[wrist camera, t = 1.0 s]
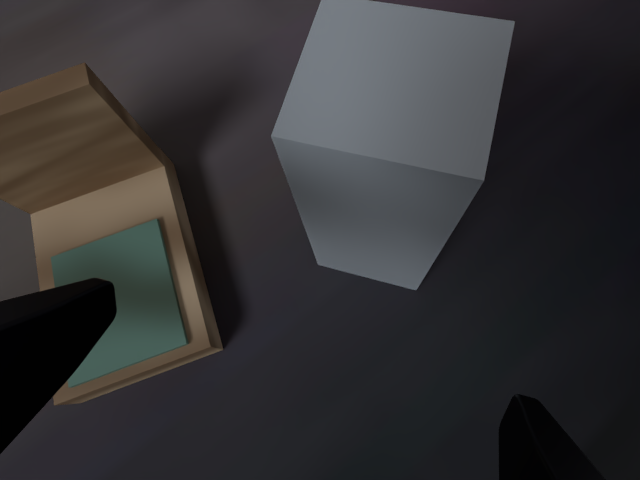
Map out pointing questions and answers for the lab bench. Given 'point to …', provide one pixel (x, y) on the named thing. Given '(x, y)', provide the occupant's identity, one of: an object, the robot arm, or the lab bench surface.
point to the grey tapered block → (390, 132)
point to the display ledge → (106, 226)
